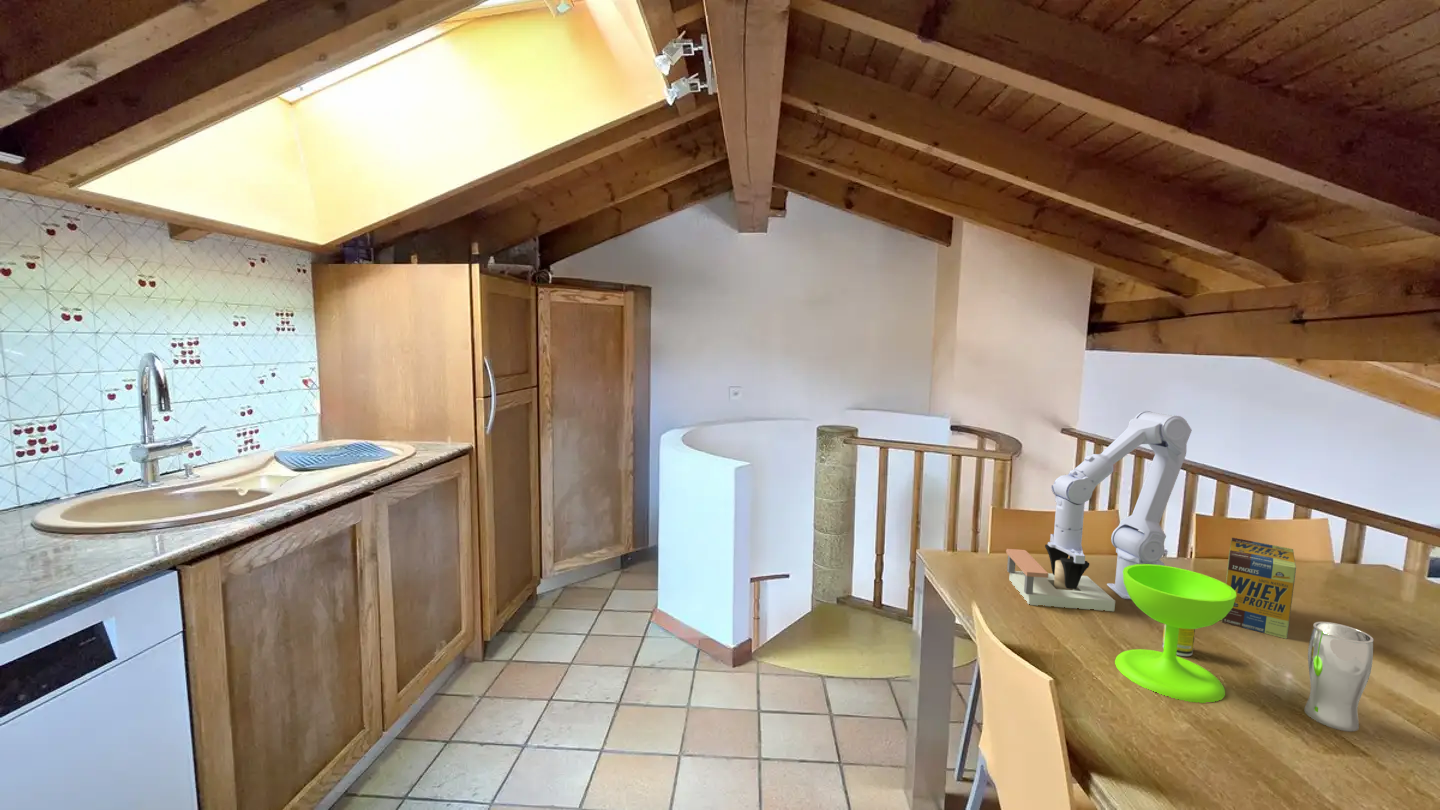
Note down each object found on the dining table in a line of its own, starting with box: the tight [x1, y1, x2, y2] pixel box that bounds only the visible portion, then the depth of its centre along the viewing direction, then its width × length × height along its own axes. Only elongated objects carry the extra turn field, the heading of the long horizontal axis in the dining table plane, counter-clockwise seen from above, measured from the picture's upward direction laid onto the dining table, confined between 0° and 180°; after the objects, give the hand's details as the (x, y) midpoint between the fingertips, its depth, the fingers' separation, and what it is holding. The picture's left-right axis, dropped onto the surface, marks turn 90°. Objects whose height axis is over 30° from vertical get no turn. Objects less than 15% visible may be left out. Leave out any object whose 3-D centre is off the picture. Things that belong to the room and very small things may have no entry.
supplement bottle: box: [1161, 624, 1196, 657], centre depth 114 cm, size 5×5×8 cm
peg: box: [1054, 560, 1073, 590], centre depth 138 cm, size 4×4×8 cm
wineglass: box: [1114, 564, 1236, 704], centre depth 105 cm, size 16×16×18 cm
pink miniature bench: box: [1005, 548, 1049, 595], centre depth 140 cm, size 4×15×6 cm, turn 170°
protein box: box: [1221, 537, 1297, 639], centre depth 127 cm, size 10×15×16 cm
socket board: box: [1008, 570, 1116, 612], centre depth 139 cm, size 18×14×2 cm
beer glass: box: [1304, 621, 1374, 732], centre depth 93 cm, size 7×7×15 cm
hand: (1064, 581), depth 138 cm, fingers open, 7 cm apart
